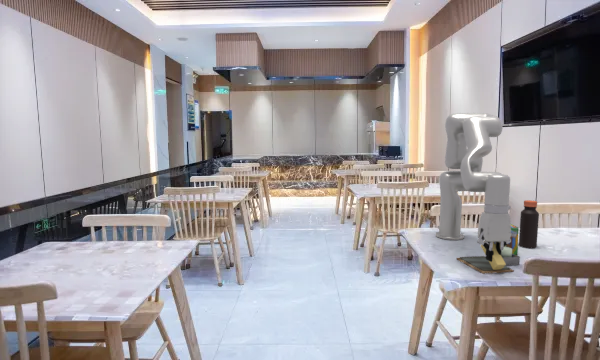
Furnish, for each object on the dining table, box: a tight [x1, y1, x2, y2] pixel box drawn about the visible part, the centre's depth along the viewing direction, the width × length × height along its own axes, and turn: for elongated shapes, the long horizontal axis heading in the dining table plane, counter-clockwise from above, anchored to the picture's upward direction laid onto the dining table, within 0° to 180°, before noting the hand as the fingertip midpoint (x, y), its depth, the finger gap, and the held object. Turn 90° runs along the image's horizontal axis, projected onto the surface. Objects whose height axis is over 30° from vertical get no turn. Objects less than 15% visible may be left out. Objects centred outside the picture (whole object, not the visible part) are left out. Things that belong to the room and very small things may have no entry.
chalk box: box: [494, 223, 520, 256], centre depth 155 cm, size 9×9×15 cm
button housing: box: [502, 254, 521, 267], centre depth 142 cm, size 7×7×3 cm
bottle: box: [518, 199, 540, 249], centre depth 163 cm, size 7×7×20 cm
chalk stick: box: [480, 240, 506, 270], centre depth 134 cm, size 3×3×10 cm
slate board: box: [456, 255, 515, 275], centre depth 139 cm, size 16×12×1 cm
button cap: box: [501, 247, 512, 257], centre depth 142 cm, size 5×5×4 cm
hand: (493, 259), depth 134 cm, fingers closed on chalk stick, 2 cm apart
